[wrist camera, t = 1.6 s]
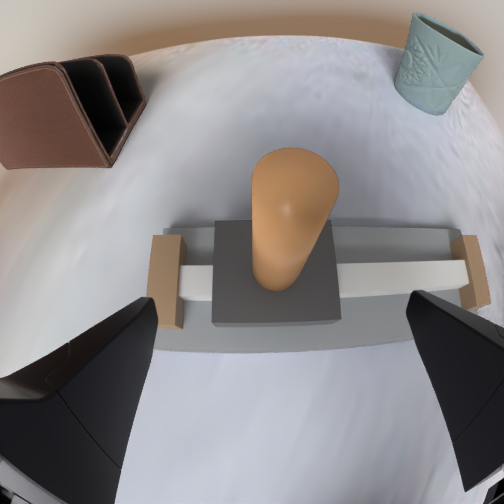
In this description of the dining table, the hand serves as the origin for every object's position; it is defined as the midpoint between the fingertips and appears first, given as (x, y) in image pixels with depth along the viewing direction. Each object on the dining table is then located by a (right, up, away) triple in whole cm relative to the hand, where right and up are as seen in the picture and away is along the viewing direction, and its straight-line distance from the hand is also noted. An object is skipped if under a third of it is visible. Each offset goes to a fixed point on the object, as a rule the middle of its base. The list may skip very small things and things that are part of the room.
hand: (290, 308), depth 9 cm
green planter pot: (+23, +24, +21) cm, 39 cm away
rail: (+5, -1, +11) cm, 12 cm away
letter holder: (-24, +16, +18) cm, 34 cm away
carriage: (0, 0, +9) cm, 9 cm away
